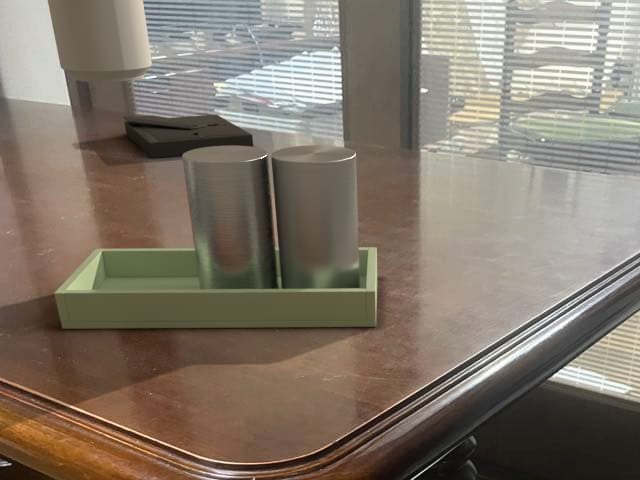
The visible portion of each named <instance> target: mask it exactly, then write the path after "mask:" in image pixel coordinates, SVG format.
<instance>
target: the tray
mask: <svg viewBox="0 0 640 480" xmlns="http://www.w3.org/2000/svg"><path fill="white" fill-rule="evenodd" d="M276 257H277V269H278V281H279V289H200V285H199V277H198V270H197V263H196V255H195V248H194V247H192V248H191V247H176V248H175V247H171V248H170V247H165V248H164V247H163V248H161V247H160V248H158V247H157V248H154V247H153V248H149V247H147V248H141V247H139V248H95V249H93V251H92V252H91V253H90V254H89V255H88V256H87V257H86V258H85V260H84V261H83V262H82V263H81V264H80V265H79V266H78V267H76V269H75V270H74V271H73V272H72V273H71V274H70V275H69V277H68V278H67V279H66V280H65V281H64V282H63V283H62V284H61V285H60V286H59V287H58V288H57V290H55V292H53V294H54V299H55V303H56V307H57V311H58V317H59V320H60V324H61V329H62V330H64V329H65V330H75V329H76V330H80V329H83V330H85V329H87V330H91V329H92V330H93V329H95V330H98V329H101V330H102V329H103V330H104V329H107V330H108V329H221V328H222V329H227V328H228V329H235V328H236V329H238V328H239V329H242V328H243V329H245V328H246V329H248V328H250V329H254V328H255V329H257V328H261V329H263V328H264V329H265V328H267V329H268V328H376V327H377V307H378V306H377V305H378V304H377V303H378V302H377V301H378V248H377V246H376V247H374V246H372V247H371V246H367V247H364V246H363V247H362V246H361V247H359V277H360V288H348V289H282V284H281V272H280V259H279V247H276Z"/></svg>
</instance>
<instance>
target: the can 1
mask: <svg viewBox="0 0 640 480" xmlns="http://www.w3.org/2000/svg"><path fill="white" fill-rule="evenodd" d="M47 4H48V9H49V10H48V11H49V14H50V15H49V16H50V20H51V24H52V25H51V26H52V31H53V35H54V41H55V45H56V51H57V56H58V60H59V65H60V69H62V70H63V71H64V72H66V73H67V74H68V75H69V76H70V77H71V79H72V80H74V81H77V82H84V83H87V82H88V83H115V82H117V83H118V82H127V81H128V82H129V81H136V80H140V79H143V78H145V75H146V74H147V72H148V71H149V70H150V68H151V67H152V65H153V62H152V54H151V47H150V39H149V34H148V27H147V20H146V13H145V6H144V0H47Z"/></svg>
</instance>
